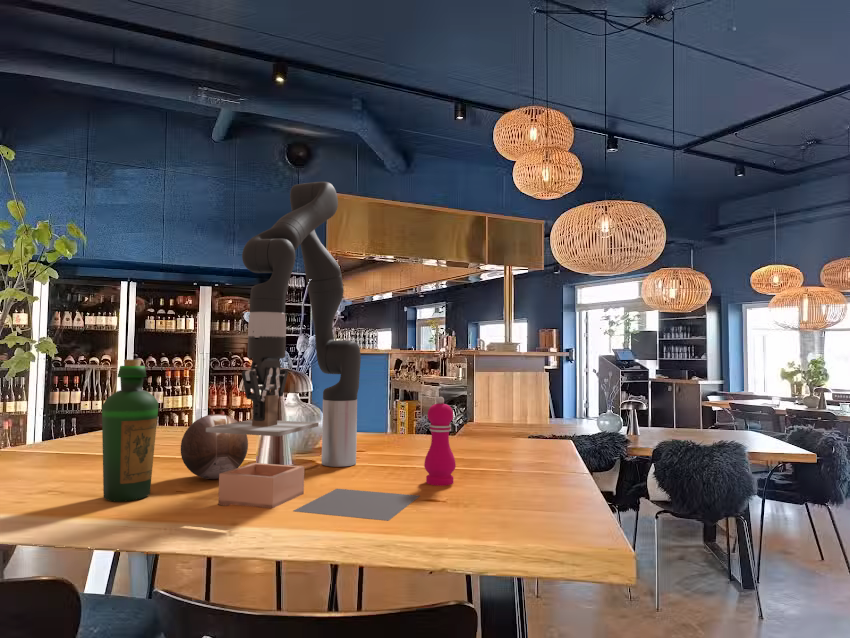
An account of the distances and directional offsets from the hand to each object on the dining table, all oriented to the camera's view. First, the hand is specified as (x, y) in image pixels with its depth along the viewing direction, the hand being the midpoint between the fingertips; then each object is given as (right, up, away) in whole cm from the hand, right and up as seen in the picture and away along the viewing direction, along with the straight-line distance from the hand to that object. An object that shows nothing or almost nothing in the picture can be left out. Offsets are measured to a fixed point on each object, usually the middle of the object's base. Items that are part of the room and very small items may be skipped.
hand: (264, 419), depth 117 cm
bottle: (-28, -16, 0) cm, 32 cm away
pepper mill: (+36, -18, +15) cm, 43 cm away
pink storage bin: (0, -16, -1) cm, 16 cm away
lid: (0, -2, 0) cm, 2 cm away
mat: (+20, -16, -4) cm, 26 cm away
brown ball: (-17, -17, +19) cm, 31 cm away
